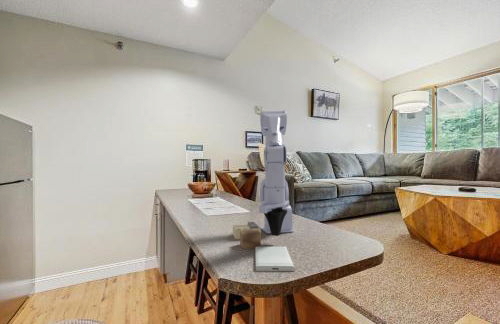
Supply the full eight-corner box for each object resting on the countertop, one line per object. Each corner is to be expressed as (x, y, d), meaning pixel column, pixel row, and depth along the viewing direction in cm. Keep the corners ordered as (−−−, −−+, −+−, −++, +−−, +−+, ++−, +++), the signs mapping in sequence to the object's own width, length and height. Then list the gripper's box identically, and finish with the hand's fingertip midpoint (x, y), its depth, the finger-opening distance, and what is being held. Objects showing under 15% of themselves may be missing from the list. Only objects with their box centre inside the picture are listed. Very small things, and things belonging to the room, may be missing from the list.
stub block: (257, 243, 67) (256, 229, 67) (260, 247, 63) (260, 232, 63) (240, 244, 66) (240, 230, 66) (242, 249, 62) (242, 233, 62)
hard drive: (255, 246, 61) (255, 265, 48) (286, 246, 61) (294, 265, 48) (255, 252, 61) (255, 273, 48) (286, 252, 61) (295, 273, 48)
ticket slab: (256, 233, 77) (256, 221, 77) (261, 237, 72) (261, 225, 72) (232, 234, 75) (232, 223, 76) (235, 239, 70) (235, 227, 70)
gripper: (275, 185, 75) (275, 227, 74) (249, 188, 63) (249, 238, 62) (295, 186, 71) (295, 231, 70) (272, 189, 59) (272, 243, 58)
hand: (275, 235), depth 66 cm, fingers closed
